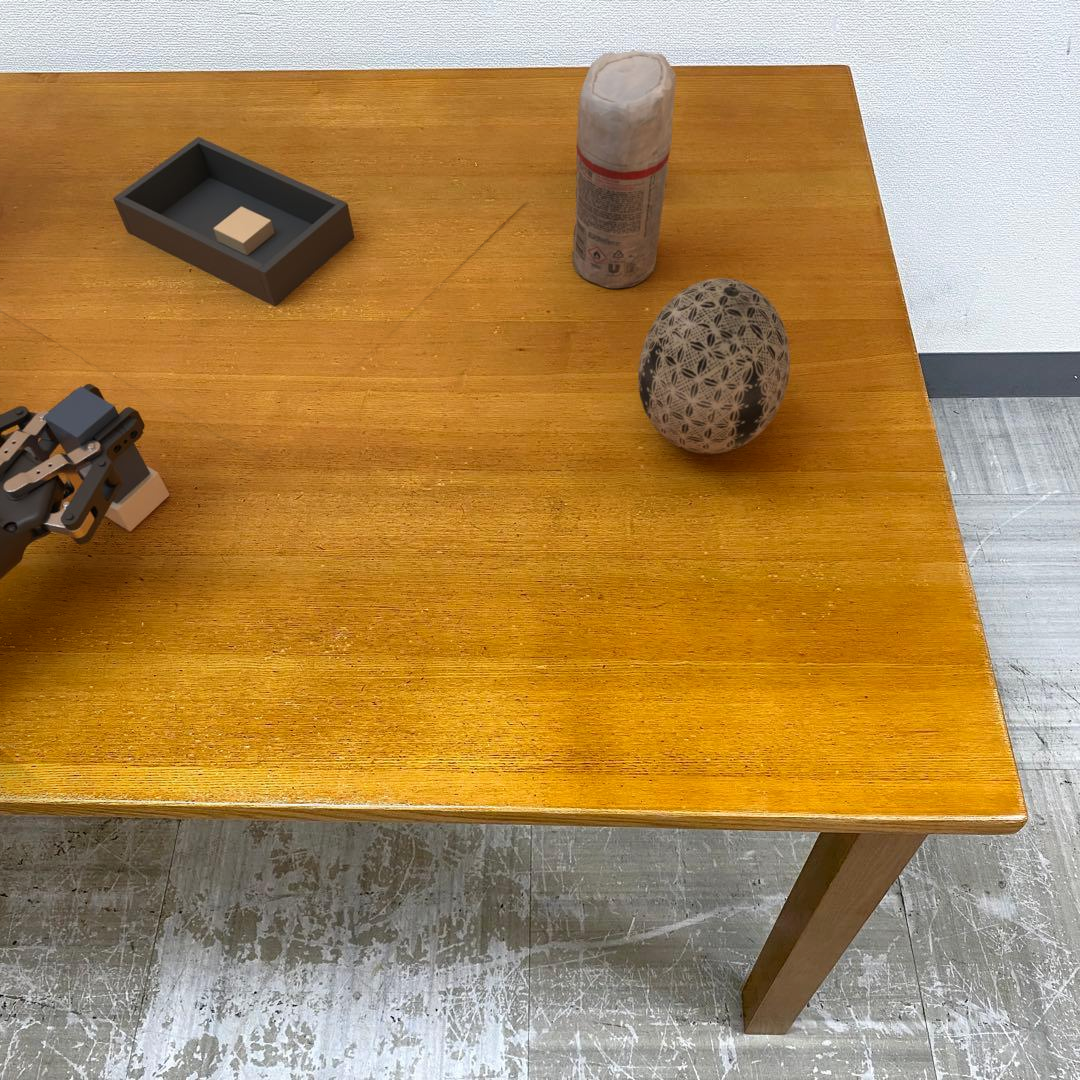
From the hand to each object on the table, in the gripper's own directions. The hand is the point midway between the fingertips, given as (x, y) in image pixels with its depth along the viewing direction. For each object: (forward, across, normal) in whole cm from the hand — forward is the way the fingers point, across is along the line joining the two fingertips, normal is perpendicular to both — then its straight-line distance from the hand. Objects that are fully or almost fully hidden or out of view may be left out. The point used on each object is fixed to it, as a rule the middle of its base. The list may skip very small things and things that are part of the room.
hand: (117, 405), depth 76 cm
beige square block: (+26, +14, +9) cm, 31 cm away
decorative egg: (+29, -35, +9) cm, 47 cm away
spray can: (+43, -18, +9) cm, 48 cm away
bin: (+26, +15, +9) cm, 31 cm away
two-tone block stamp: (-3, 0, +9) cm, 9 cm away
